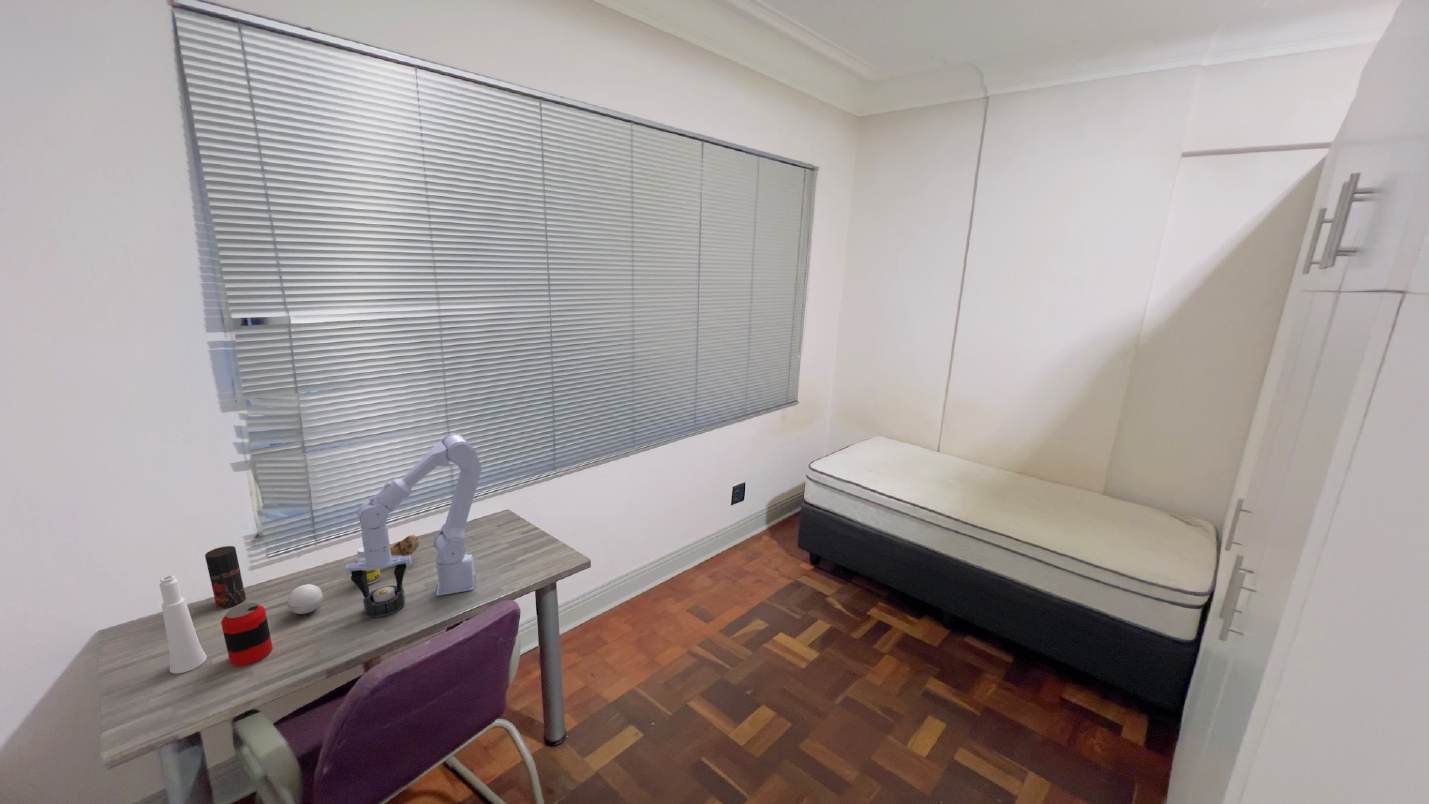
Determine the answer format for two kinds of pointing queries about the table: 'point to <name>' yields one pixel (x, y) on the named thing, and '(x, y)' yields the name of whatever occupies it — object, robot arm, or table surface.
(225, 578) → the deodorant
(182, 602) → the cosmetic bottle
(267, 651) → the soda can
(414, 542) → the lion figurine
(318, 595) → the white egg
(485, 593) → the table surface
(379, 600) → the boiled egg half
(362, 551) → the supplement bottle
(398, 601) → the dark grey round ring
